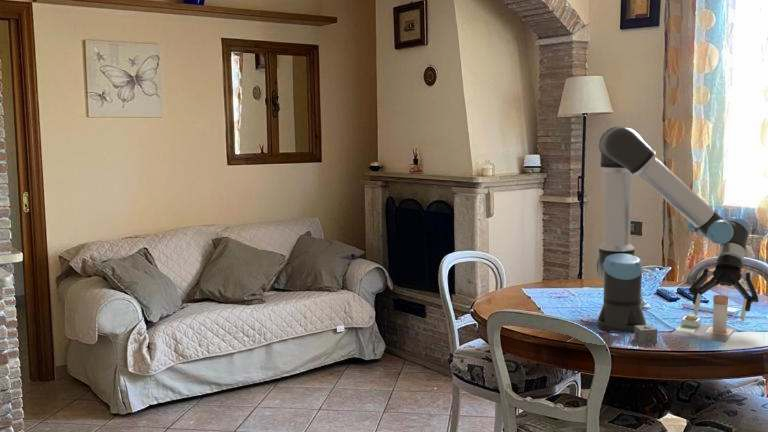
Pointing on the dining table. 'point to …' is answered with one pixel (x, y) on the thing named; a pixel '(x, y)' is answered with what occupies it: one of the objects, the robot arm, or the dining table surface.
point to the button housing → (690, 322)
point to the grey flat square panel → (704, 333)
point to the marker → (720, 313)
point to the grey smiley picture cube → (645, 334)
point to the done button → (691, 317)
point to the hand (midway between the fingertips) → (718, 316)
